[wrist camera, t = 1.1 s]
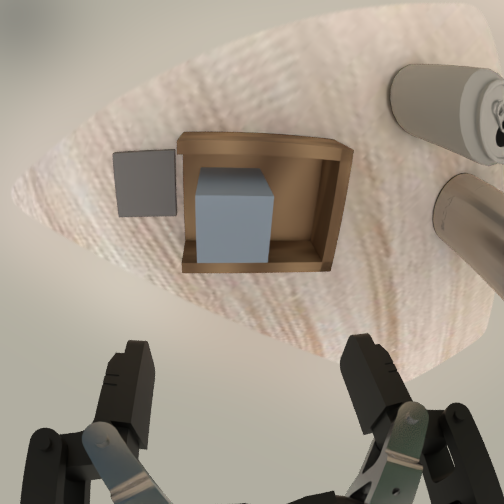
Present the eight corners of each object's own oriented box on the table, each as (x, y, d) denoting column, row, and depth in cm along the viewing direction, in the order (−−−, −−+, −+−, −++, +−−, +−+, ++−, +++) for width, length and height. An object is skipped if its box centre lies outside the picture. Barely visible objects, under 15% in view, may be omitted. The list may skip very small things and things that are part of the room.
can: (411, 149, 26) (495, 193, 16) (371, 90, 23) (461, 106, 12) (452, 109, 24) (538, 137, 13) (418, 50, 20) (510, 53, 10)
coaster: (175, 149, 24) (174, 150, 23) (176, 213, 27) (176, 216, 26) (114, 152, 23) (112, 153, 23) (120, 214, 26) (118, 217, 26)
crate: (333, 139, 25) (353, 150, 21) (316, 246, 30) (330, 271, 27) (183, 132, 23) (176, 140, 19) (186, 246, 29) (182, 273, 25)
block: (259, 168, 25) (274, 196, 19) (256, 221, 28) (267, 262, 22) (200, 167, 24) (195, 195, 18) (200, 221, 27) (197, 262, 21)
